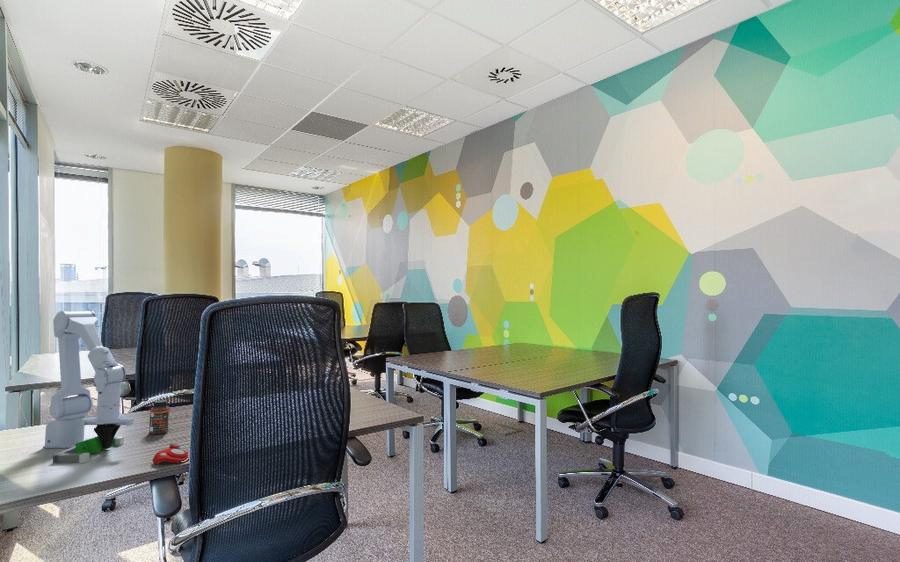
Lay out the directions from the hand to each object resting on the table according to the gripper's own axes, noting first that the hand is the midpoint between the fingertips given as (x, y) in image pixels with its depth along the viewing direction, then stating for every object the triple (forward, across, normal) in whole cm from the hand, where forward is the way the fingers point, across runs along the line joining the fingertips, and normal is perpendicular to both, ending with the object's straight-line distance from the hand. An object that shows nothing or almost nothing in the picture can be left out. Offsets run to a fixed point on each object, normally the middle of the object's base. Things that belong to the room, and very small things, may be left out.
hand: (106, 448), depth 139 cm
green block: (+1, -2, +1) cm, 3 cm away
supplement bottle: (+2, +4, +21) cm, 21 cm away
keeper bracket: (+1, -4, 0) cm, 5 cm away
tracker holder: (+2, +24, -6) cm, 24 cm away
